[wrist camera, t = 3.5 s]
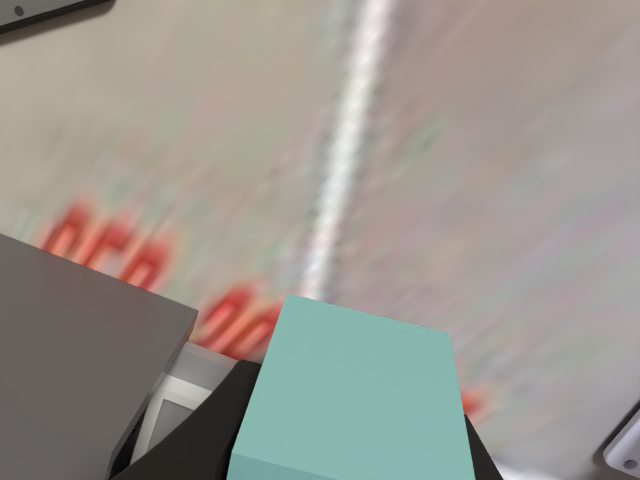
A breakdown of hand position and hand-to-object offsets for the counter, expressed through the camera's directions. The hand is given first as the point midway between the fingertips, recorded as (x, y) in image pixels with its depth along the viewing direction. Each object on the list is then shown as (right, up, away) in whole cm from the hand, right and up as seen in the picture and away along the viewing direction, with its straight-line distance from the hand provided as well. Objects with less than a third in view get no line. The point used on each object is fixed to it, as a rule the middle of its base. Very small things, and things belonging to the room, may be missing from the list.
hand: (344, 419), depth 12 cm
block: (0, +1, +1) cm, 2 cm away
